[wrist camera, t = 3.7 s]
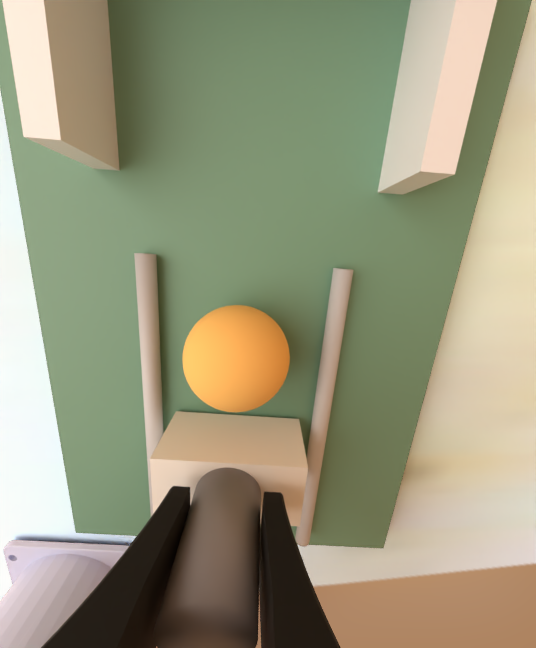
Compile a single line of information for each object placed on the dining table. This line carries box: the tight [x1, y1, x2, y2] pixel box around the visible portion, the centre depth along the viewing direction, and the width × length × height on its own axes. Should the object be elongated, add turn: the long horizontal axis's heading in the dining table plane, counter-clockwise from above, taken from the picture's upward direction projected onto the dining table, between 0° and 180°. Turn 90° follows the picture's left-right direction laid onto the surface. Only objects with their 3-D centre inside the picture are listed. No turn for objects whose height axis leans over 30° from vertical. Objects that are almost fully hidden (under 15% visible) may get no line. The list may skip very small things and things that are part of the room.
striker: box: [150, 411, 308, 648], centre depth 10 cm, size 3×6×7 cm, turn 86°
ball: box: [182, 305, 290, 412], centre depth 10 cm, size 4×4×4 cm
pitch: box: [0, 0, 532, 548], centre depth 12 cm, size 26×18×2 cm
